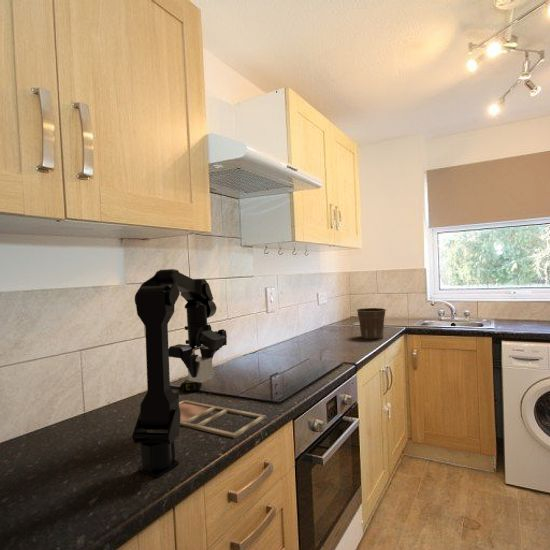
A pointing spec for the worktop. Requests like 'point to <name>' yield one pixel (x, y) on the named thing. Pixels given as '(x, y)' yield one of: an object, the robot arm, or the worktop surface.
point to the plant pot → (371, 322)
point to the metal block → (202, 369)
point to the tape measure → (190, 385)
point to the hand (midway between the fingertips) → (200, 374)
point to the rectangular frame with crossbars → (197, 410)
